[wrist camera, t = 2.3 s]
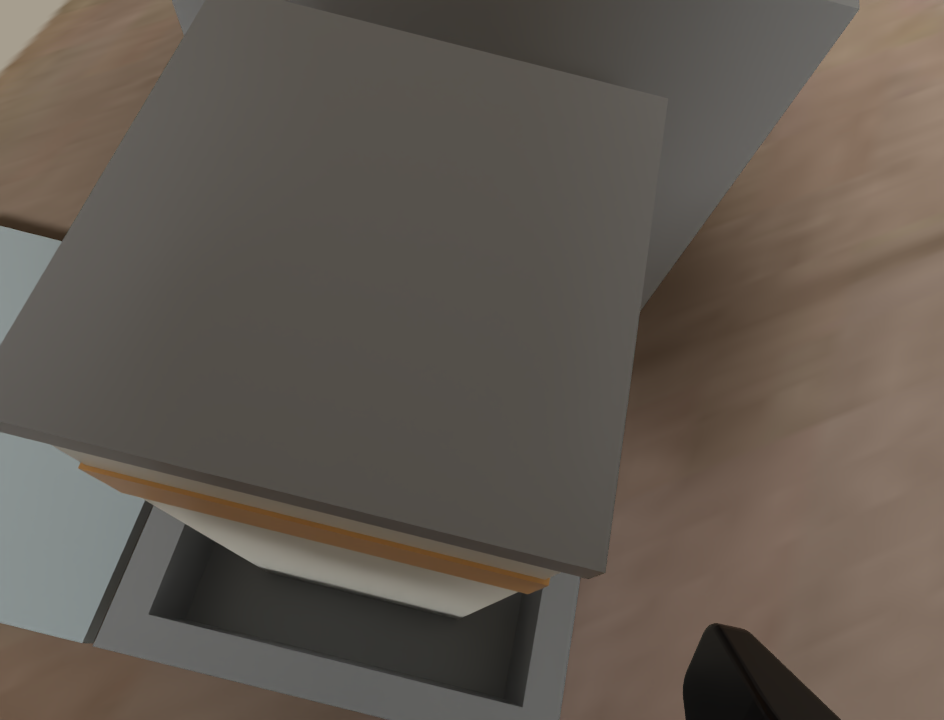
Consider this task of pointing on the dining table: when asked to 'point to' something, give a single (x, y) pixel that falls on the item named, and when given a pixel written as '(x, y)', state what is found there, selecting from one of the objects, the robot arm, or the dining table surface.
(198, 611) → the case
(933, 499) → the dining table surface
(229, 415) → the block
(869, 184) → the dining table surface
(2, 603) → the pad
